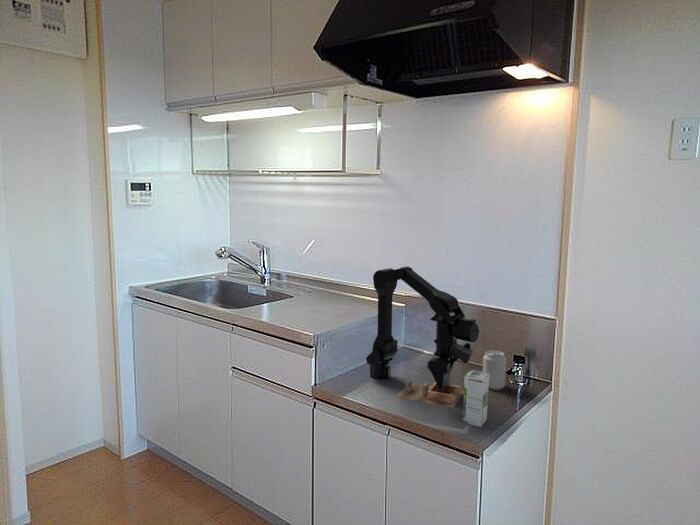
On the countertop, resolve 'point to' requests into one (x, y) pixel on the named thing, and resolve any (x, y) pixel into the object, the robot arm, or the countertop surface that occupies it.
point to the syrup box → (475, 397)
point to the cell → (446, 383)
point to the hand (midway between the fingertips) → (444, 383)
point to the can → (495, 369)
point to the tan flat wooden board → (430, 394)
